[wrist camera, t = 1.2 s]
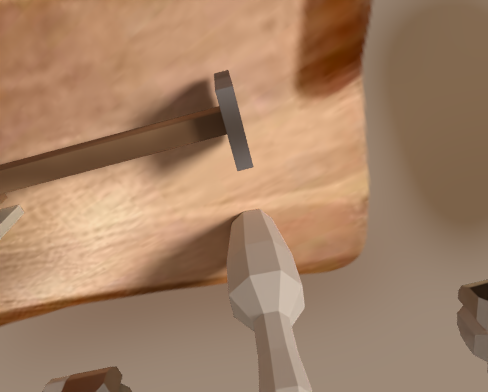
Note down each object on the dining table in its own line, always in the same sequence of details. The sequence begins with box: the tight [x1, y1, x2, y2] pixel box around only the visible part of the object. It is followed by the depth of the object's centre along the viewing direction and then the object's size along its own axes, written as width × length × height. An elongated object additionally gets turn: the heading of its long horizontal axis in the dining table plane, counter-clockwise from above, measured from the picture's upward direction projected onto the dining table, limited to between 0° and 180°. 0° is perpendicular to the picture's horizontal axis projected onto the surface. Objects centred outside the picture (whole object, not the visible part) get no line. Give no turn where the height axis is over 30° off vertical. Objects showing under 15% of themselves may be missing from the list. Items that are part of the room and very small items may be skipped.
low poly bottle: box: [227, 209, 313, 392], centre depth 30 cm, size 6×6×22 cm
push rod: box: [0, 70, 253, 204], centre depth 28 cm, size 6×24×7 cm, turn 104°
